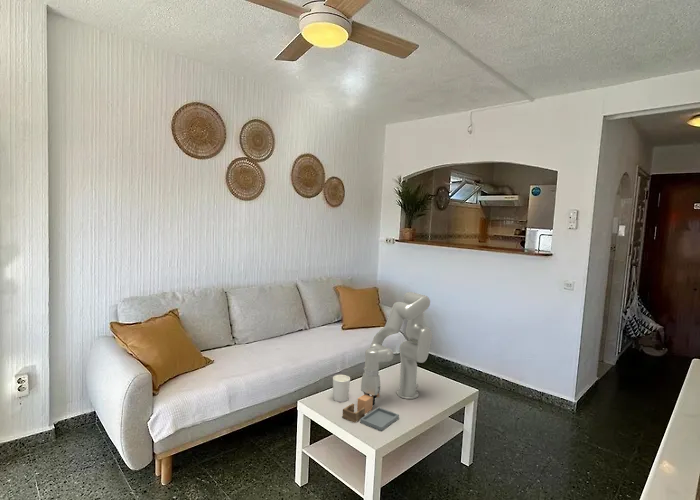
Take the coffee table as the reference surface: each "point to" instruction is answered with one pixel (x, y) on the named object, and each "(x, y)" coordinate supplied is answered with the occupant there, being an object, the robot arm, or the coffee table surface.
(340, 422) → the coffee table surface
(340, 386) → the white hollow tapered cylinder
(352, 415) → the frame
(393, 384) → the coffee table surface
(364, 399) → the peach slab with tab
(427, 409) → the coffee table surface
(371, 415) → the tray
